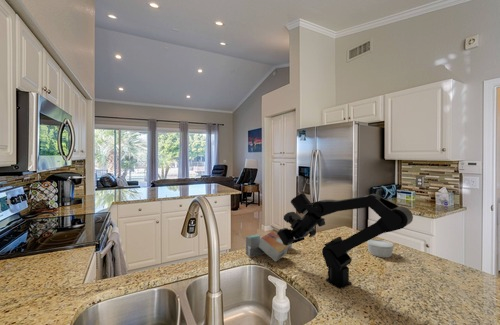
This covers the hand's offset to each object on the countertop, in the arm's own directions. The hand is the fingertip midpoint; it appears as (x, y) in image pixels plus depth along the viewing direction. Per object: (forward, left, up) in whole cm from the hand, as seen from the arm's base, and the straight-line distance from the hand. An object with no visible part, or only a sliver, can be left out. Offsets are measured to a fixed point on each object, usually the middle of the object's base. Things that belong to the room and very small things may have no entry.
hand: (286, 243), depth 103 cm
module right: (+14, -9, -8) cm, 18 cm away
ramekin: (-14, -44, -8) cm, 47 cm away
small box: (+1, +1, -5) cm, 5 cm away
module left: (+14, +9, -8) cm, 18 cm away
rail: (+12, 0, -8) cm, 14 cm away
